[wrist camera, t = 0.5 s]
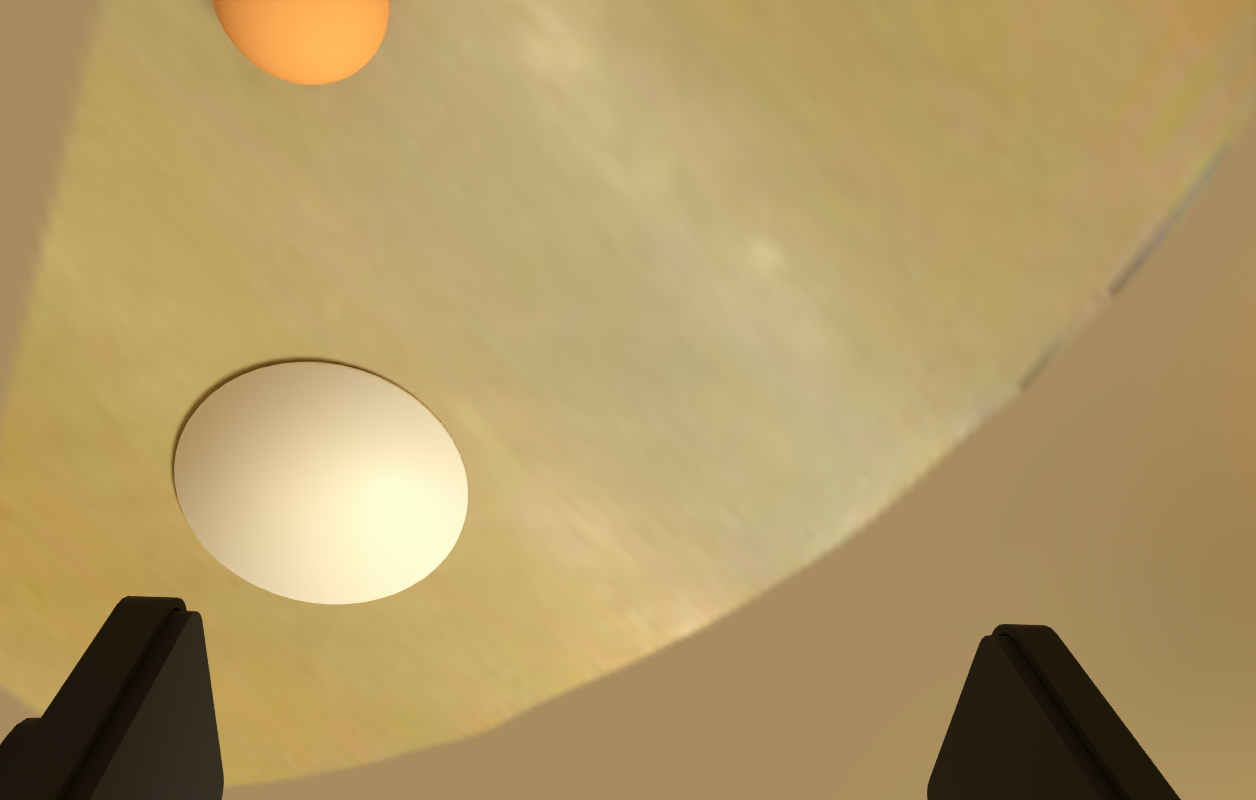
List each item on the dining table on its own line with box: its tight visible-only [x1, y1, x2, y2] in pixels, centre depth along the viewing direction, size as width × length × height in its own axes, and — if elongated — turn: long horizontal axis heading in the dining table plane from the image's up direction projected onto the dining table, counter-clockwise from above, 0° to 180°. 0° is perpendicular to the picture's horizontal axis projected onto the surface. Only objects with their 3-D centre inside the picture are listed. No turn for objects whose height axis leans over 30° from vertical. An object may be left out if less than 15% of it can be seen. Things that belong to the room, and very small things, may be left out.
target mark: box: [174, 361, 468, 604], centre depth 40 cm, size 13×13×1 cm
